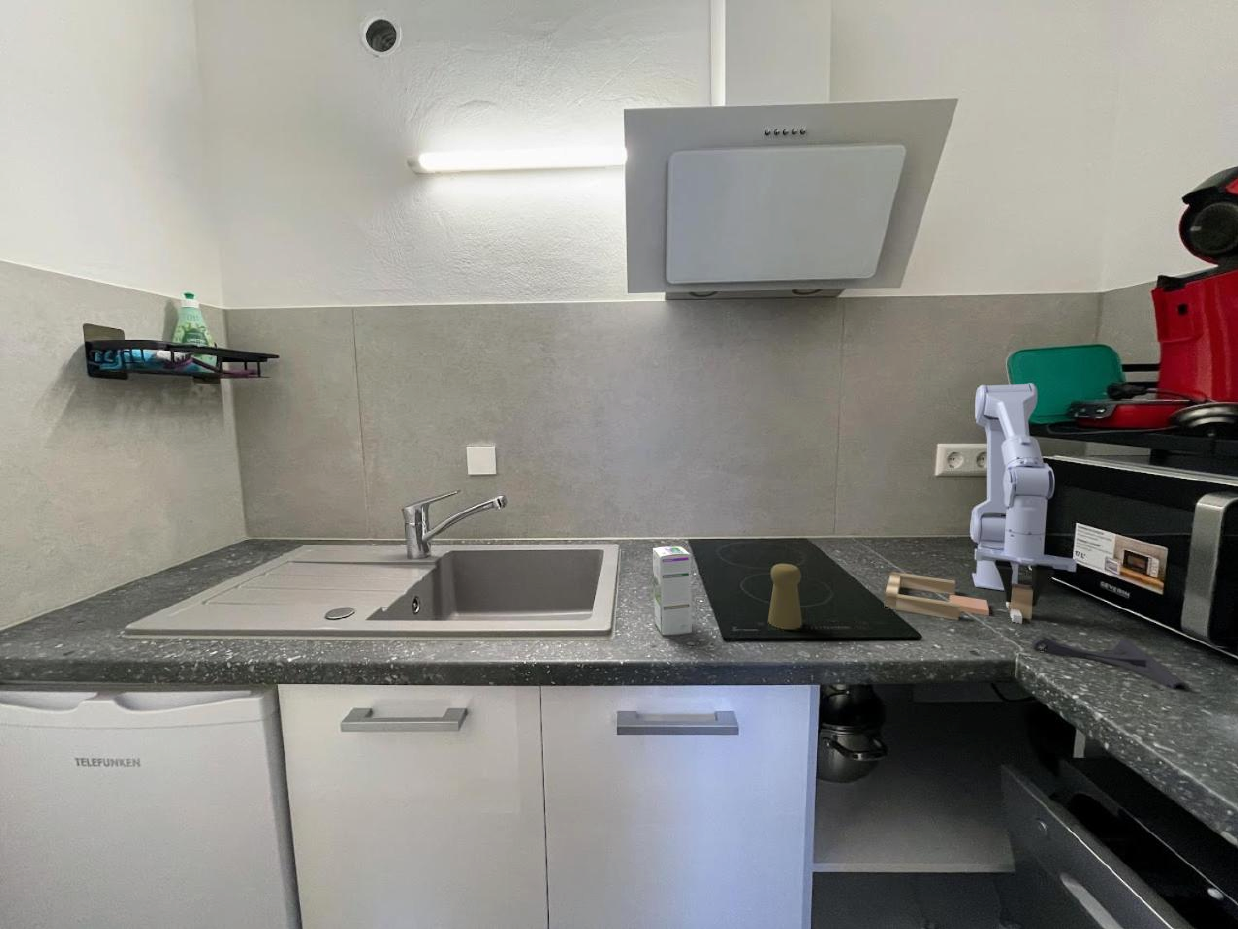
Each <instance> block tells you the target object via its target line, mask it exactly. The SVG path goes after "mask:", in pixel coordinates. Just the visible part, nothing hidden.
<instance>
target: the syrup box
mask: <svg viewBox="0 0 1238 929" xmlns="http://www.w3.org/2000/svg"><path fill="white" fill-rule="evenodd" d="M691 556H692V555H691V553H690V552H688V551H687V550H686V549H685V548H684V547H682V546H680V545H668V546H667V545H666V546H659V547H658V546H657V547H653V548H652V570H653V571H652V573H653V574H652V575H653V576H652V577H653V619H654V620H653V621H654V625H655V626H656V628H657V629H658V631H659V632H660V634H661V636H673V635H674V636H676V635H683V634H692V633H693V630H692V629H693V626H692V624H693V622H692V620H693V619H692V618H693V615H692V613H693V611H692V609H693V608H692V605H693V604H692V603H693V602H692V573H691V572H692V568H691V566H692V562H691Z"/></svg>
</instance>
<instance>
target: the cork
mask: <svg viewBox="0 0 1238 929" xmlns="http://www.w3.org/2000/svg"><path fill="white" fill-rule="evenodd" d="M801 577H802V575H801V571H800V569H799V567H797V566H795V565H793V564H789V563H778V564H775V565H773V566H772V567H771V569H770V578H771V580H772V582H773V585H772V592H771V599H770V604H769V612H768V616H767V623H768V622H769V624H771V625H772V626H774V627H777V628H781V629H795V628H799V627H800V626H801V625H802V626H803V621H802V620H803V619H802V615H801V614H802V612H801V606H800V605H801V604H800V597H799V588H798V585H799V583H800V581H801ZM769 624H768V625H769Z"/></svg>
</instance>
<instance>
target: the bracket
mask: <svg viewBox="0 0 1238 929" xmlns="http://www.w3.org/2000/svg"><path fill="white" fill-rule="evenodd" d="M1041 646H1044V647H1043V648H1040V647H1041ZM1032 647H1033V648H1032ZM1031 648H1032V649H1033V650H1034V652H1037V651H1044V652H1047V653H1046V654H1051V653H1052V654H1053V655H1059V654H1060V656H1065V655H1066V657H1074V658H1080V659H1081V658H1082V659H1089V660H1092V661H1096V662H1101V663H1104V664H1108V665H1111V666H1115V667H1118V668H1121V667H1122V669H1124V670H1127V671H1130V672H1132V671H1133V672H1132V673H1135V672H1136V673H1135V674H1138V675H1141V676H1143V677H1145V678H1148V679H1150V680H1152V681H1154V682H1156V683H1158V684H1161V685H1163V686H1165V687H1167V688H1171V689H1172V690H1176V686H1178V687H1179V688H1181V689H1182V690H1183V691H1184V692H1189V691H1190V687H1189V685H1188V684H1186V683H1185V682H1184V681H1182V680H1181V679H1179V677H1177V676H1176V675H1174V673H1172V672H1170V671H1169V670H1168V669H1166V668H1165V667H1164V666H1162V665H1161V664H1160V663H1159V662H1157V661H1156V660H1154V659H1153V658H1152V657H1151V656H1149V655H1148V654H1147V653H1145V652H1144V651H1143V650H1141V649H1140V648H1138V646H1137V645H1134V644H1133V643H1132V642H1131V641H1130V640H1128V639H1121V640H1119V642H1118V643H1117V644H1116V646H1115V647H1114V648H1113V649H1111V650H1108V651H1090V650H1086V649H1083V648H1078V647H1073V646H1070V645H1067V644H1064V643H1061V642H1058V641H1055V640H1052V639H1049V638H1047V637H1044V636H1037V637H1035V638H1034V639H1033V640H1032V641H1031ZM1040 649H1042V650H1040ZM1045 649H1046V650H1045ZM1044 652H1043V653H1044ZM1052 654H1051V655H1052ZM1142 667H1144V668H1142ZM1146 667H1147V668H1146Z"/></svg>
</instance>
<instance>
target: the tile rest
mask: <svg viewBox="0 0 1238 929" xmlns="http://www.w3.org/2000/svg"><path fill="white" fill-rule="evenodd" d="M887 581H888V582H887V585H886V590H885V594H884V607H885V606H886V607H889V608H890V609H891V610H897V611H901V612H908V613H913V614H914V613H915V614H918V615H919V614H920V615H925V616H931V617H937V618H944V619H949V620H954V621H955V620H957V621H959V612H960V611H959V605H958V603H952V602H950V601H944V600H939V599H932V598H924V597H917V596H913V595H912V596H911V595H907V594H906V595H905V594H900V590H901V589H900V588H905V589H911V590H917V591H925V592H926V591H927V592H932V593H938V594H946V595H955V596H956V580H954V579H945V578H938V577H931V576H930V577H929V576H924V575H915V574H907V573H902V572H901V573H899V572H893V571H890V573H889V577H888V580H887ZM889 608H888V609H889Z"/></svg>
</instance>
